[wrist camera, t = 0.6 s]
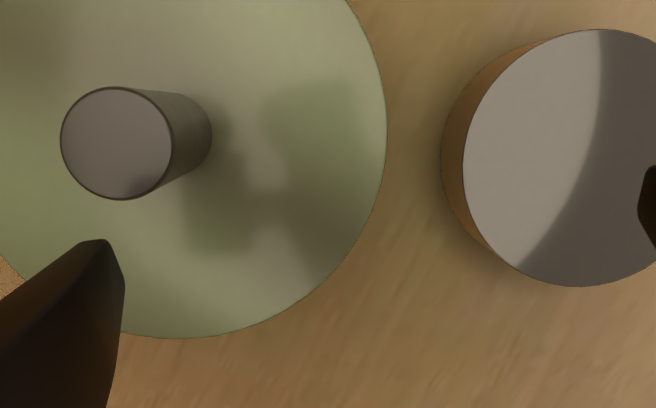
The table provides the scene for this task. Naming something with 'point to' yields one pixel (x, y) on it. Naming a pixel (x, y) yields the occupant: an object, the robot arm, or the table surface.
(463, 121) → the disc
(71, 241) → the lid
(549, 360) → the table surface
